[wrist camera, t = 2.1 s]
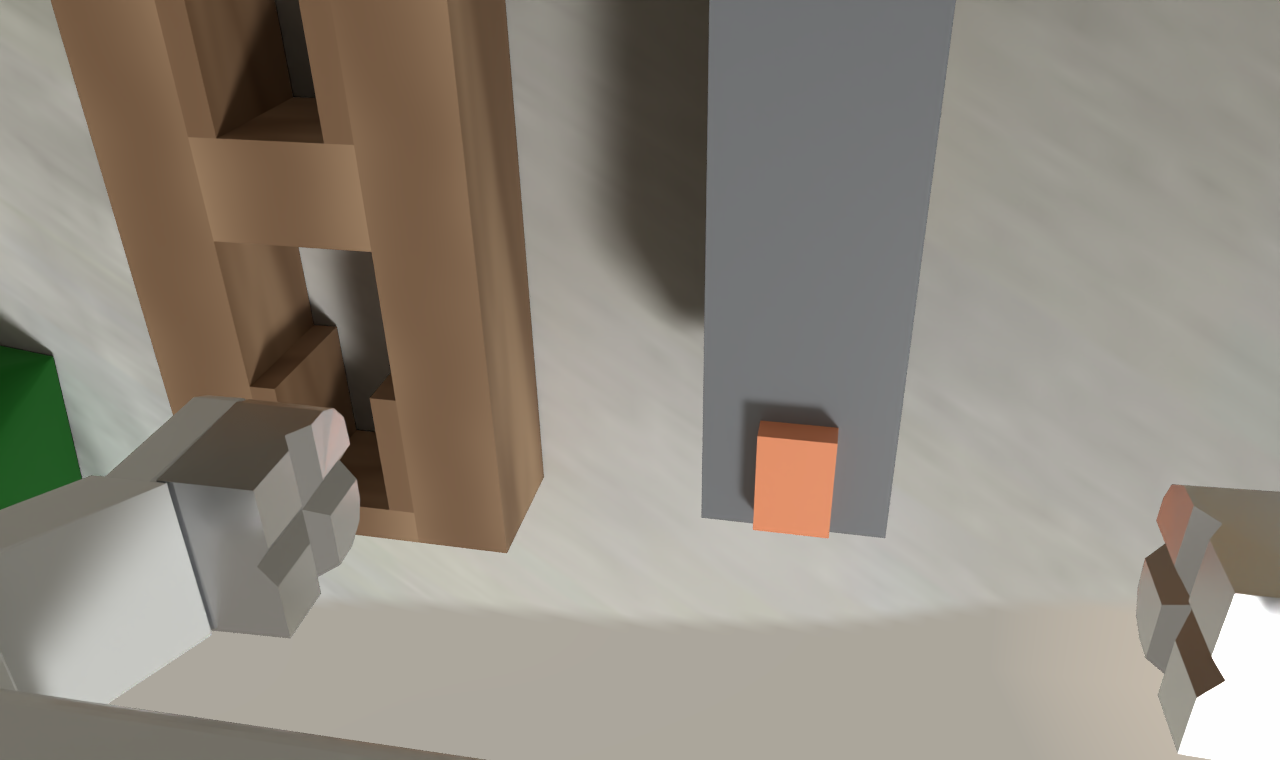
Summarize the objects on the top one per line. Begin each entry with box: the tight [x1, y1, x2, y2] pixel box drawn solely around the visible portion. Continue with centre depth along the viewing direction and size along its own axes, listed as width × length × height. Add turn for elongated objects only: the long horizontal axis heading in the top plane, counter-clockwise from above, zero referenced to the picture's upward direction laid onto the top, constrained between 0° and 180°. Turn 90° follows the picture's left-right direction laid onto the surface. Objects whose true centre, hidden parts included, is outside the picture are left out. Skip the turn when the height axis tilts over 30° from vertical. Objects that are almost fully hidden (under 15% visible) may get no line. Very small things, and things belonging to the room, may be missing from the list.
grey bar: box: [701, 0, 956, 538], centre depth 20 cm, size 4×16×6 cm, turn 1°
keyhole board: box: [51, 0, 544, 553], centre depth 24 cm, size 9×21×4 cm, turn 1°
